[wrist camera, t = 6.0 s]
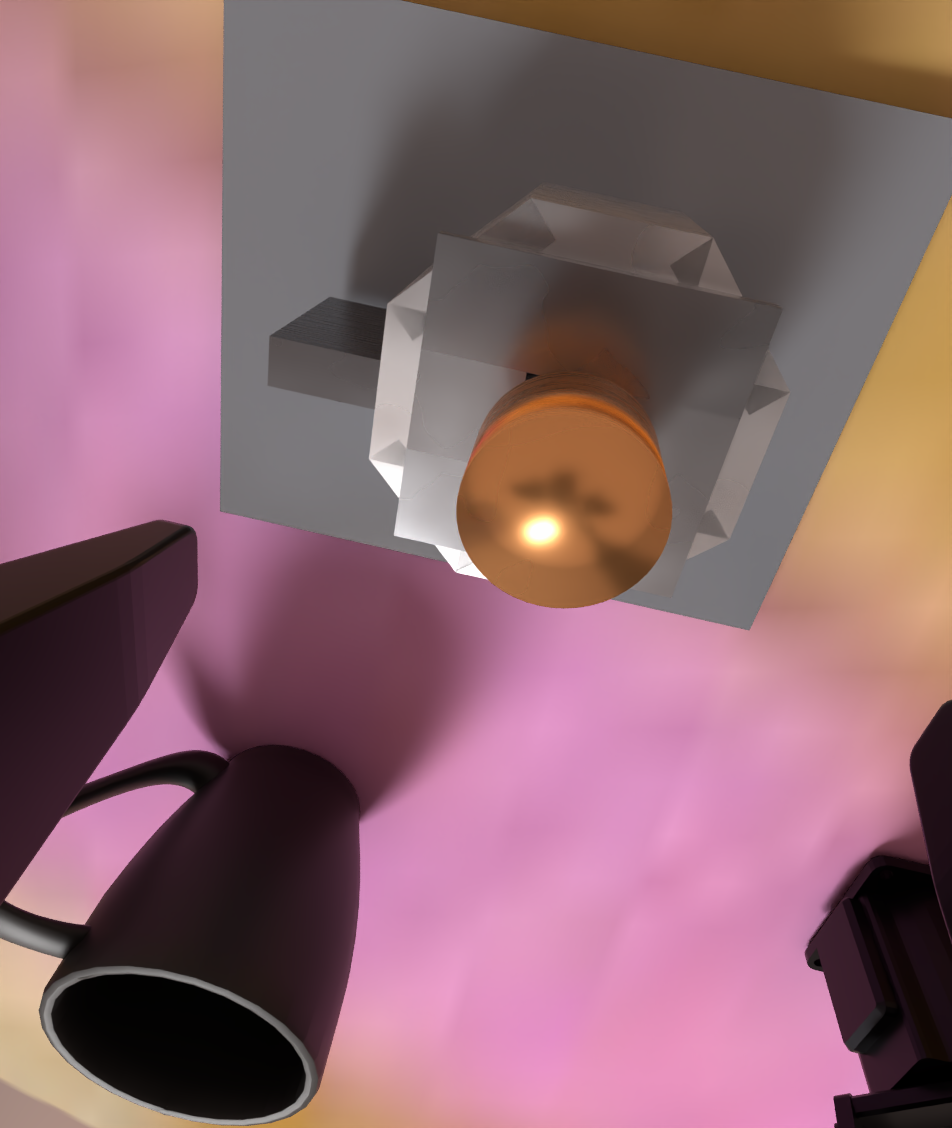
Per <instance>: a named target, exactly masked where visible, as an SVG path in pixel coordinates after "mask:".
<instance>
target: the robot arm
mask: <svg viewBox="0 0 952 1128" xmlns="http://www.w3.org/2000/svg"><path fill="white" fill-rule="evenodd" d="M197 588H198V563H197V536H196V533H195V531H194V529H193V528H192V527H190V526H187V525H183V524H179V523H174V522H170V521H166V520H155V521H152V522H148V523H145V524H141V525H138V526H134V527H130V528H127V529H123V530H120V531H116V532H113V533H109V534H106V535H102V536H99V537H95V538H91V539H88V540H84V541H81V542H77V543H74V544H70V545H67V546H63V547H59V548H56V549H52V550H49V551H45V552H42V553H38V554H35V555H31V556H28V557H24V558H20V559H17V560H13V561H10V562H6V563H3V564H0V906H1V904H2V903H3V901H4V900H5V898H6V897H7V895H8V894H9V893H10V891H11V890H12V888H13V887H14V885H15V884H16V883H17V881H18V880H19V878H20V877H21V875H22V874H23V872H24V871H25V870H26V868H27V867H28V865H29V864H30V862H31V861H32V859H33V858H34V857H35V855H36V854H37V852H38V851H39V849H40V848H41V847H42V845H43V844H44V842H45V841H46V839H47V838H48V836H49V835H50V834H51V832H52V831H53V829H54V828H55V826H56V825H57V824H58V822H59V821H60V819H61V818H62V816H63V815H64V813H65V812H66V811H67V809H68V808H69V806H70V805H71V803H72V802H73V801H74V799H75V798H76V796H77V795H78V793H79V792H80V790H81V789H82V788H83V786H84V785H85V783H86V782H87V780H88V779H89V778H90V776H91V775H92V773H93V772H94V770H95V769H96V767H97V766H98V765H99V763H100V762H101V760H102V759H103V757H104V756H105V754H106V753H107V752H108V750H109V749H110V747H111V746H112V744H113V743H114V742H115V740H116V739H117V737H118V736H119V734H120V733H121V731H122V730H123V729H124V727H125V726H126V724H127V723H128V721H129V720H130V718H131V717H132V715H133V714H134V712H135V711H136V709H137V708H138V706H139V705H140V703H141V701H142V699H143V697H144V696H145V694H146V692H147V690H148V689H149V687H150V685H151V683H152V681H153V679H154V677H155V675H156V674H157V672H158V670H159V668H160V666H161V664H162V662H163V660H164V659H165V657H166V655H167V653H168V651H169V649H170V647H171V645H172V643H173V642H174V640H175V638H176V636H177V634H178V632H179V630H180V628H181V626H182V625H183V623H184V621H185V619H186V617H187V615H188V613H189V611H190V609H191V608H192V606H193V603H194V601H195V598H196V594H197ZM910 772H911V777H912V782H913V787H914V792H915V797H916V802H917V807H918V811H919V816H920V821H921V826H922V831H923V836H924V841H925V846H926V851H927V856H928V860H929V865H930V866H928V865H924V864H920V863H915V862H911V861H906V860H902V859H898V858H893V857H889V856H878V857H875V858H873V859H871V860H870V861H869V862H868V863H867V864H866V866H865V867H864V869H863V870H862V871H861V873H860V874H859V876H858V877H857V878H856V880H855V881H854V883H853V884H852V885H851V887H850V888H849V890H848V891H847V893H846V894H845V895H844V897H843V898H842V900H841V901H840V902H839V904H838V905H837V907H836V908H835V909H834V911H833V912H832V914H831V915H830V917H829V918H828V919H827V921H826V922H825V924H824V925H823V926H822V928H821V929H820V931H819V932H818V933H817V935H816V936H815V938H814V939H813V941H812V942H811V943H810V945H809V946H808V948H807V949H806V951H805V957H806V960H807V964H808V966H809V967H810V968H812V969H814V970H818V971H822V972H824V975H825V979H826V982H827V986H828V989H829V993H830V996H831V1000H832V1003H833V1007H834V1010H835V1014H836V1017H837V1021H838V1024H839V1028H840V1031H841V1035H842V1038H843V1042H844V1043H845V1045H846V1047H847V1048H848V1050H850V1051H851V1052H855V1053H858V1055H859V1058H860V1061H861V1065H862V1068H863V1071H864V1075H865V1078H866V1081H867V1085H868V1088H869V1092H870V1093H868V1094H862V1095H856V1096H852V1095H851V1094H850V1093H848V1094H842V1095H837V1096H834V1105H835V1112H836V1118H837V1123H835V1124H834V1127H835V1128H952V700H949V701H947V702H946V703H944V704H943V705H942V706H941V707H940V708H939V710H938V711H937V713H936V714H935V716H934V717H933V719H932V720H931V722H930V723H929V725H928V726H927V728H926V729H925V731H924V732H923V734H922V735H921V737H920V738H919V740H918V741H917V743H916V744H915V746H914V747H913V750H912V752H911V756H910Z"/></svg>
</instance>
